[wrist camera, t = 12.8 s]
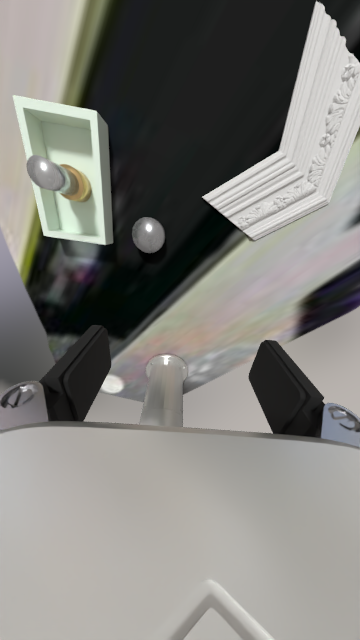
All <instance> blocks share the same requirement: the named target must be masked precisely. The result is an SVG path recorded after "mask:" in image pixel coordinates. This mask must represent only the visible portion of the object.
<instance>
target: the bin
mask: <svg viewBox="0 0 360 640" xmlns="http://www.w3.org/2000/svg"><path fill="white" fill-rule="evenodd" d="M13 99H14V104H15V108H16V112H17V117H18V121H19V126H20V130H21V135H22V139H23V144H24V148H25V153H26V157H27V161H28V159H29V158H30V157H31V156H32V155H39V156H42V157H44V158H46V159H48V160H50V161H52V162H54V163H56V164H58V165H60V164H67V165H70V166H72V167H73V168H75V169H77V170H79V171H81V172H82V173H84V174H85V175H86V176H87V178H88V179H89V181H90V184H91V188H92V192H91V196H90V198H89V200H87V201H86V202H77V201H73V200H69V199H66V198H64V197H63V196H62V195H61V194H60V193H58V192H55V191H51V190H47V189H43V188H41V187H39V186H37V185H36V184H35V183H34V182H33V181H32V184H33V189H34V193H35V198H36V202H37V207H38V211H39V216H40V220H41V225H42V229H43V234H44V236H49V237H55V238H62V239H69V240H75V241H82V242H89V243H96V244H102V245H108V244H112V243H113V226H112V204H111V182H110V161H109V139H108V125H107V124H106V123H105V121H104V120H103V119H102V117H101V116H100V115H99V113H98V112H97V111H94V110H89V109H84V108H78V107H73V106H68V105H63V104H57V103H52V102H47V101H42V100H37V99H31V98H26V97H21V96H16V95H13Z"/></svg>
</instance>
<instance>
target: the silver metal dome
mask: <svg viewBox="0 0 360 640" xmlns="http://www.w3.org/2000/svg"><path fill="white" fill-rule="evenodd" d="M132 236H133V240H134V243H135V244H136V246H137V247H138V248H139V249H140V250H142V251H143V252H146V253H153V252H156V251H158V250H159V249H160V248H161V247H162V246H163V244H164V242H165V230H164V228H163V226H162V224H161V223H160V222H159V221H158V220H156V219H154V218H149V217H144V218H141V219H139V220H138V221H137V222H136V223H135V225H134V227H133V231H132Z"/></svg>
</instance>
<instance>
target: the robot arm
mask: <svg viewBox="0 0 360 640" xmlns="http://www.w3.org/2000/svg"><path fill="white" fill-rule="evenodd" d="M110 368H111V358H110V349H109V341H108V333H107V329H104V326H98V325H92V326H91V327H90V328H89V329H88V330H87V331H86V332H85V333H84V334H83V335H82V337H81V338H80V339H79V340H78V341H77V342H76V343H75V344H74V345H73V346H72V347H71V348H70V349H69V350H68V351H67V352H66V354H65V355H64V356H63V357H62V358H61V359H60V360H59V361H58V362H57V363H56V364H55V365H54V366H53V367H52V369H50V371H49V372H48V373H47V374H46V375H45V376H44V377H43V378H42V379H41V380H40V381H39V382H36V381H27V382H23V383H20V384H17V385H15V386H12V387H11V388H9V389H7V390H6V391H5V392H3V393H2V394H1V395H0V640H360V418H359V417H358V416H357V415H355V414H354V413H353V412H351V411H350V410H348V409H347V408H345V407H343V406H341V405H338V404H334V403H327V404H324V403H323V402H322V400H323V399H324V397H323V396H322V394H321V393H320V392H319V391H318V390H317V388H316V387H315V386H314V385H313V384H312V383H311V381H310V380H309V379H308V378H307V377H306V375H305V374H304V373H303V372H302V371H301V370H300V368H299V367H298V366H297V365H296V364H295V363H294V361H293V360H292V359H291V358H290V357H289V356H288V354H287V353H286V352H285V351H284V350H283V349H282V347H281V346H280V345H279V344H278V342H277V341H272V340H265V341H264V342H262V343H261V344H260V347H259V349H258V352H257V355H256V357H255V360H254V362H253V365H252V368H251V370H250V373H249V381H250V383H251V385H252V387H253V389H254V392H255V394H256V396H257V398H258V401H259V403H260V405H261V407H262V409H263V412H264V414H265V416H266V418H267V421H268V423H269V425H270V427H271V430H272V432H273V434H271V433H257V432H242V431H230V430H215V429H200V428H185V427H183V381H184V380H185V379H186V377H187V375H188V368H187V365H186V363H185V362H184V361H183V360H182V359H181V358H179V357H177V356H175V355H171V354H161V355H157V356H155V357H153V358H152V359H150V360H149V362H148V363H147V366H146V375H147V377H148V378H149V381H148V386H147V391H146V395H145V400H144V404H143V409H142V413H141V418H140V423H139V425H137V424H121V423H102V422H83V420H84V419H85V417H86V415H87V413H88V411H89V409H90V407H91V405H92V403H93V401H94V399H95V397H96V396H97V394H98V392H99V390H100V388H101V386H102V384H103V382H104V380H105V378H106V376H107V374H108V372H109V370H110Z"/></svg>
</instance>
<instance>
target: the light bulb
mask: <svg viewBox="0 0 360 640" xmlns="http://www.w3.org/2000/svg"><path fill="white" fill-rule="evenodd" d="M27 171H28V174H29V176H30V178H31V180H32V181H33V182H34V183H35V184H36V185H37V186H39V187H41V188H43V189H47V190H51V191H55V192H58V193H60V194H61V195H62V196H63V197H64V198H66V199H69V200H73V201H77V202H86V201H87V200H89V198H90V196H91V192H92V188H91V184H90V181H89V179H88V178H87V176H86V175H85V174H84V173H82V172H81V171H79V170H77V169H75V168H73V167H72V166H70V165H67V164H60V165H58V164H56V163H54V162H52V161H50V160H48V159H46V158H44V157H42V156H39V155H32V156H31V157H30V158H29V159H28V161H27Z"/></svg>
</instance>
